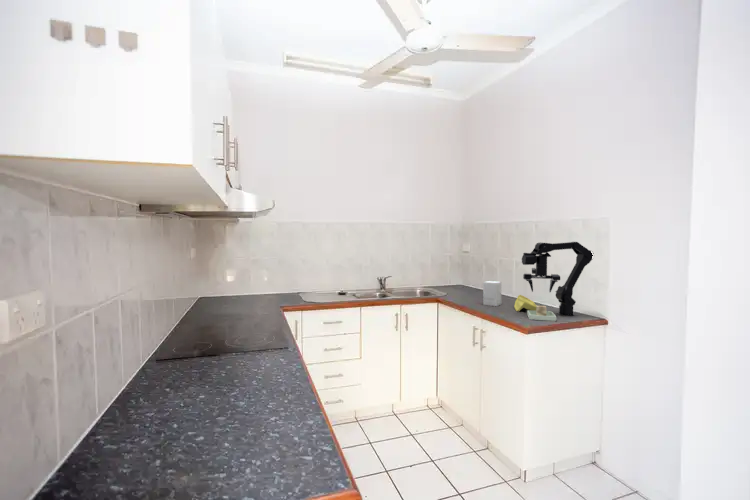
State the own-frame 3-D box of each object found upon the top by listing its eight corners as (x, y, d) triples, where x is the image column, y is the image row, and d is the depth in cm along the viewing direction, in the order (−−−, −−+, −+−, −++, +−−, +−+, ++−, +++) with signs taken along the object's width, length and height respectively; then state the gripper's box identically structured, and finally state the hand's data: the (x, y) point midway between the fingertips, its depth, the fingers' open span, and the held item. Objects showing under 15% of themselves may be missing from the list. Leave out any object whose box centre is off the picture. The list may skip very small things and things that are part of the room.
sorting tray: (552, 315, 207) (552, 311, 207) (556, 321, 195) (556, 316, 194) (527, 314, 211) (527, 310, 211) (529, 319, 198) (529, 315, 198)
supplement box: (501, 304, 241) (501, 281, 241) (496, 306, 235) (496, 283, 234) (488, 302, 247) (488, 280, 247) (482, 304, 240) (482, 281, 240)
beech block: (544, 316, 204) (545, 305, 204) (546, 318, 200) (546, 307, 200) (536, 316, 205) (536, 305, 205) (537, 317, 201) (537, 306, 201)
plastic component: (539, 309, 215) (522, 301, 217) (532, 319, 217) (516, 312, 218) (532, 300, 234) (517, 293, 236) (526, 310, 236) (512, 303, 237)
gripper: (556, 263, 214) (556, 290, 215) (522, 263, 220) (522, 289, 220) (560, 265, 204) (560, 293, 204) (524, 264, 209) (524, 292, 210)
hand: (541, 292), depth 210 cm, fingers open, 9 cm apart
